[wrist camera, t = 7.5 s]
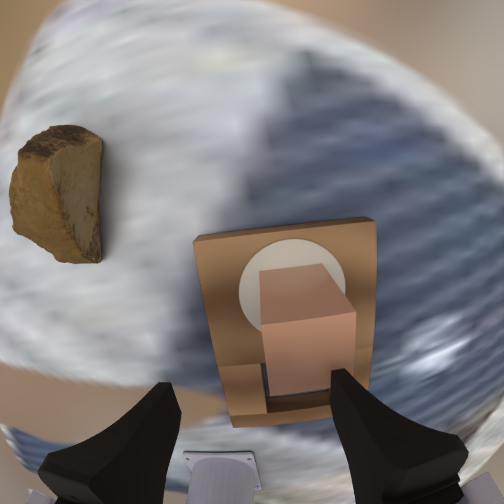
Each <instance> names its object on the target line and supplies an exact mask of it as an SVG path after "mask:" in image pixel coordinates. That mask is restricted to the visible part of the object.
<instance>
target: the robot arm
mask: <svg viewBox="0 0 504 504" xmlns="http://www.w3.org/2000/svg"><path fill="white" fill-rule="evenodd" d="M330 407H331V411H332V416H333V421H334V424H335V426H336V429H337V432H338V435H339V438H340V441H341V443H342V446H343V449H344V452H345V455H346V457H347V461H348V464H349V469H350V474H351V478H352V484H353V489H354V495H355V501H356V504H504V497H503V495H502V494H501V492H500V490H499V488H498V487H497V485H496V483H495V482H494V480H493V478H492V477H491V475H490V473H489V472H485V473H484V474H482V475H480V476H479V477H477V478H475V479H473V480H471V481H469V482H468V483H466V484H465V485H463V486H462V487H461V488H460V486H459V484H458V482H459V481H460V478H459V476H458V474H457V473H458V472H459V470H460V469H461V467H462V466H463V464H464V463H465V461H466V459H467V457H468V453H469V452H468V450H467V448H466V447H465V445H464V443H463V442H462V441H461V439H460V438H459V437H458V435H454V434H449V433H445V432H441V431H437V430H434V429H431V428H428V427H425V426H423V425H420V424H418V423H416V422H414V421H412V420H409V419H407V418H405V417H404V416H402V415H400V414H398V413H397V412H395V411H393V410H392V409H390V408H389V407H387V406H386V405H385V404H383V403H382V402H381V401H379V400H378V399H377V398H376V397H374V396H373V395H372V394H371V393H370V392H369V391H368V390H366V389H365V388H364V387H363V386H362V385H361V384H360V383H359V382H358V381H357V380H356V379H355V378H354V377H353V376H352V375H351V374H350V373H349V372H348V371H347V370H346V369H345V368H342V369H336V370H331V386H330ZM181 414H182V413H181V410H180V408H179V405H178V402H177V399H176V396H175V393H174V390H173V387H172V384H171V383H170V382H159V383H157V384H156V385H155V386H154V387H153V388H152V389H151V390H150V391H149V392H148V393H147V394H146V395H145V396H144V397H143V398H142V399H141V400H140V401H139V402H138V403H137V404H136V405H135V406H134V407H133V408H132V409H131V410H129V411H128V412H127V413H126V414H125V415H124V416H122V417H121V418H120V419H119V420H118V421H116V422H115V423H114V424H112V425H111V426H110V427H108V428H106V429H105V430H103V431H102V432H100V433H98V434H96V435H95V436H93V437H91V438H89V439H87V440H85V441H83V442H81V443H79V444H76V445H74V446H71V447H68V448H66V449H62V450H59V451H55V452H52V453H48V455H47V456H46V458H45V460H44V461H43V463H42V465H41V466H40V468H39V470H38V475H39V477H40V479H41V480H42V481H43V482H44V483H45V484H46V485H47V486H48V487H49V488H50V490H52V492H53V493H55V494H56V495H57V496H58V498H57V500H56V501H55V500H53V499H52V498H50V497H48V496H46V495H43V494H41V493H39V492H37V491H35V490H33V491H32V493H31V494H30V496H29V498H28V500H27V502H26V504H163V497H164V488H165V482H166V475H167V471H168V466H169V463H170V460H171V456H172V453H173V450H174V447H175V443H176V440H177V436H178V433H179V428H180V421H181ZM182 456H183V458H184V460H185V462H186V464H187V466H188V468H189V469H190V471H191V473H192V474H191V479H190V484H189V490H188V495H187V500H186V504H254V491H261V490H262V487H261V483H260V479H259V475H258V471H257V466H256V462H255V458H254V454H253V453H251V452H238V453H195V452H184V453H183V455H182Z"/></svg>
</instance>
